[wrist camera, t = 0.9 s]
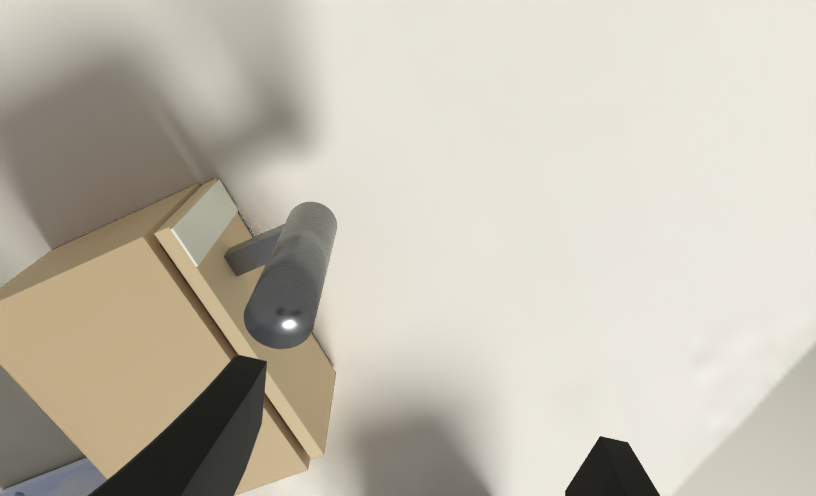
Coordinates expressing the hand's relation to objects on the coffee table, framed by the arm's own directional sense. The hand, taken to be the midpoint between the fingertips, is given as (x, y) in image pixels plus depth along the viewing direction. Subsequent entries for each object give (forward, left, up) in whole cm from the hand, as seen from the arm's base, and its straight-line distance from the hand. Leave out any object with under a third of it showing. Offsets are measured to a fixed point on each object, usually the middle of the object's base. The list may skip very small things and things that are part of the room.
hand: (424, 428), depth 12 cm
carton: (-12, -1, -14) cm, 19 cm away
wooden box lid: (-5, -1, -14) cm, 15 cm away
